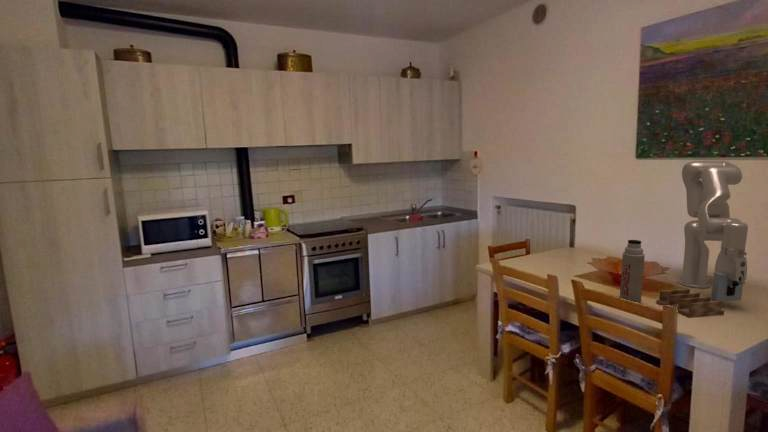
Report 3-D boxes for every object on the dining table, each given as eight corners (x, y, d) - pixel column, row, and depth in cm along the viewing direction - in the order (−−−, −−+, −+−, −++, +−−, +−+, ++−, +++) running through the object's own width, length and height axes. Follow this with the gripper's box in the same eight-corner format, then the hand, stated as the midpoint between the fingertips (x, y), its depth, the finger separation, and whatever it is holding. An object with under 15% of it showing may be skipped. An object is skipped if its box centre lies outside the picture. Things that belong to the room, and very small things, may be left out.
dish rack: (688, 300, 179) (689, 288, 178) (723, 314, 163) (725, 301, 162) (656, 303, 176) (657, 291, 175) (688, 317, 161) (690, 304, 160)
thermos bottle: (627, 307, 172) (632, 243, 168) (615, 300, 180) (619, 239, 176) (645, 306, 173) (650, 242, 169) (632, 299, 181) (636, 238, 177)
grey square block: (735, 297, 173) (739, 270, 170) (741, 299, 170) (744, 272, 168) (710, 300, 171) (714, 272, 169) (716, 302, 169) (719, 274, 166)
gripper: (760, 256, 159) (754, 300, 163) (721, 246, 175) (716, 286, 178) (744, 257, 158) (738, 302, 162) (706, 247, 174) (701, 288, 177)
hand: (726, 293), depth 170 cm, fingers closed on grey square block, 2 cm apart
